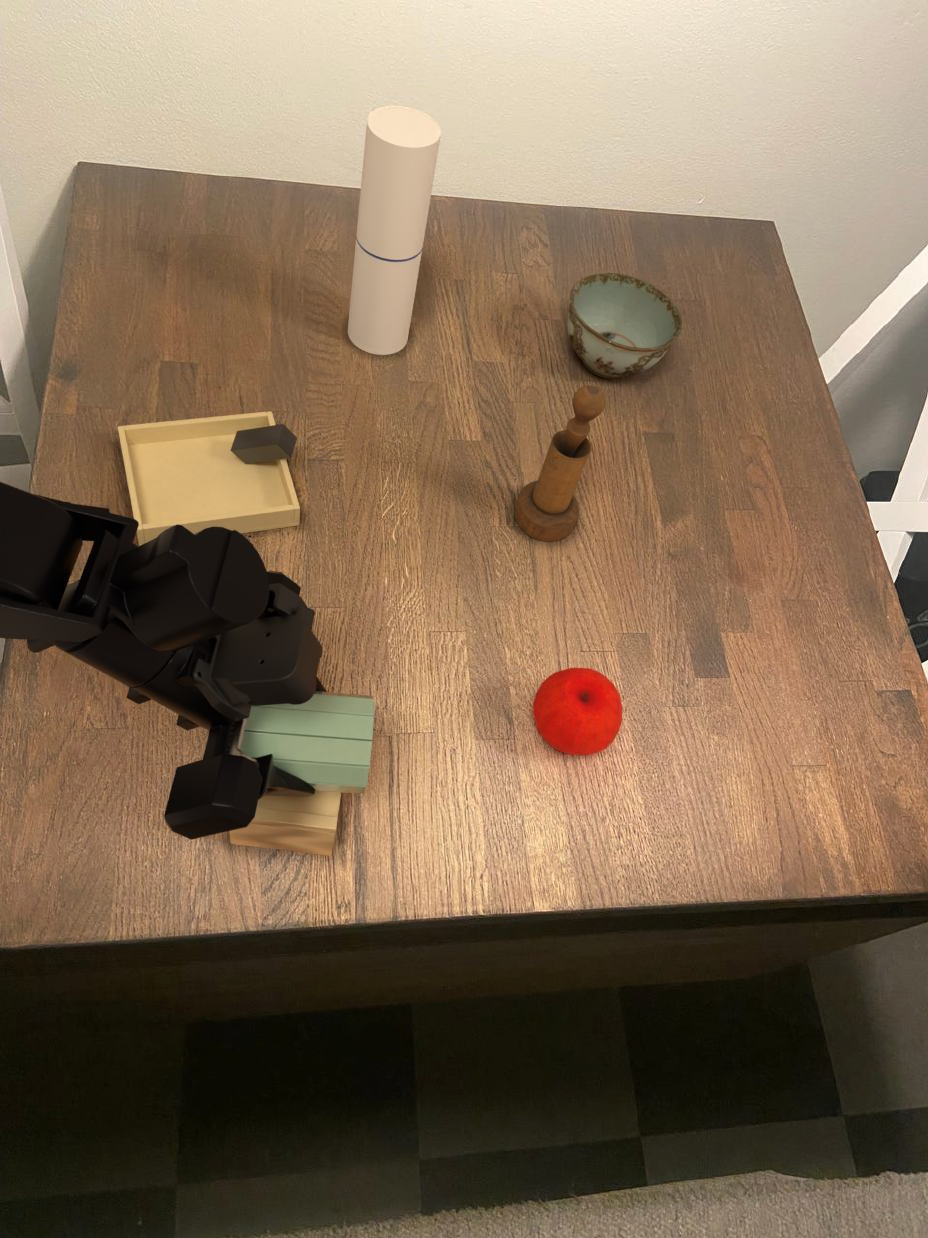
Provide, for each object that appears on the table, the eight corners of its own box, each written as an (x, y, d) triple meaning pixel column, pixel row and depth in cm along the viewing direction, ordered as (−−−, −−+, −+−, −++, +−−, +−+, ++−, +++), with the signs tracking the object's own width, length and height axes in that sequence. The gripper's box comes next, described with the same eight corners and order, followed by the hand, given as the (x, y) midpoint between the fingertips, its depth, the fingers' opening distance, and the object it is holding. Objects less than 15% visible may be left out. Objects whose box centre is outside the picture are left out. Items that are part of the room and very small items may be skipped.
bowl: (540, 377, 109) (558, 323, 103) (565, 312, 117) (583, 258, 110) (648, 415, 109) (673, 363, 102) (666, 347, 117) (690, 295, 110)
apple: (569, 677, 87) (592, 636, 81) (626, 741, 84) (654, 703, 78) (506, 719, 83) (525, 679, 77) (563, 787, 80) (587, 751, 74)
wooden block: (230, 844, 72) (227, 816, 67) (253, 735, 78) (252, 701, 73) (331, 856, 73) (335, 829, 68) (347, 747, 79) (352, 715, 74)
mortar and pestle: (502, 503, 97) (544, 374, 82) (551, 486, 100) (601, 358, 85) (535, 549, 94) (585, 424, 80) (585, 531, 97) (642, 406, 82)
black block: (291, 457, 90) (297, 437, 91) (276, 443, 88) (283, 423, 89) (245, 463, 93) (251, 444, 94) (230, 450, 91) (236, 430, 92)
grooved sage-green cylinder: (211, 793, 67) (205, 764, 61) (224, 705, 70) (220, 668, 64) (361, 803, 69) (370, 776, 63) (367, 716, 72) (376, 682, 66)
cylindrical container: (352, 354, 106) (373, 145, 85) (343, 313, 109) (362, 102, 89) (412, 354, 107) (447, 149, 87) (402, 314, 111) (433, 108, 90)
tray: (139, 547, 86) (136, 529, 84) (120, 445, 92) (117, 425, 90) (299, 525, 91) (300, 508, 88) (271, 429, 97) (271, 410, 95)
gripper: (207, 756, 48) (390, 852, 59) (271, 491, 59) (417, 612, 69) (77, 794, 54) (265, 876, 64) (157, 546, 64) (308, 650, 75)
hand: (318, 746), depth 68 cm, fingers closed on grooved sage-green cylinder, 7 cm apart
